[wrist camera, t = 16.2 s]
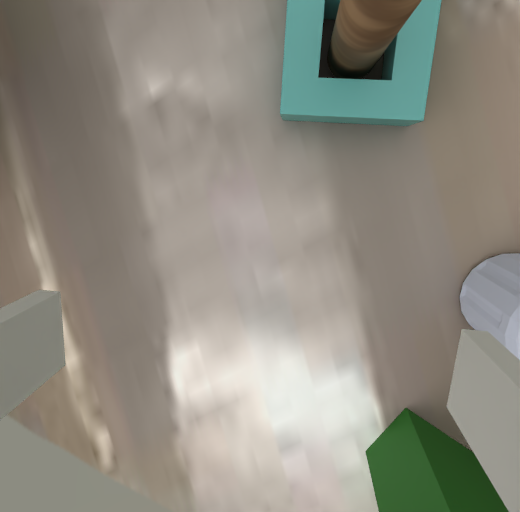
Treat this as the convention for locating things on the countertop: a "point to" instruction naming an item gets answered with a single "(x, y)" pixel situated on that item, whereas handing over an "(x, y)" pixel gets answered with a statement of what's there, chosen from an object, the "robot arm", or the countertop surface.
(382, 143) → the countertop surface
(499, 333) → the soap bottle
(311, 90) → the socket
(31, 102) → the countertop surface
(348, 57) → the dowel
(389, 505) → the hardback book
